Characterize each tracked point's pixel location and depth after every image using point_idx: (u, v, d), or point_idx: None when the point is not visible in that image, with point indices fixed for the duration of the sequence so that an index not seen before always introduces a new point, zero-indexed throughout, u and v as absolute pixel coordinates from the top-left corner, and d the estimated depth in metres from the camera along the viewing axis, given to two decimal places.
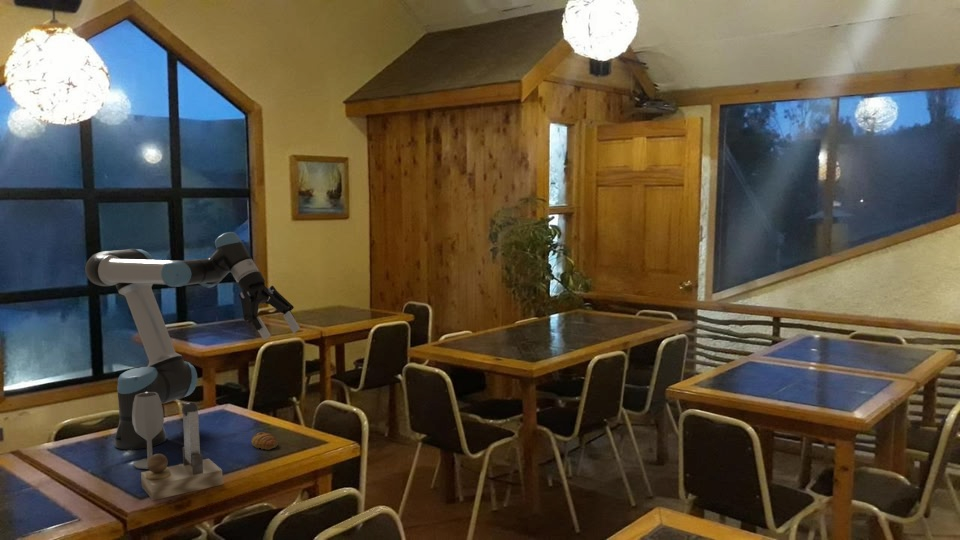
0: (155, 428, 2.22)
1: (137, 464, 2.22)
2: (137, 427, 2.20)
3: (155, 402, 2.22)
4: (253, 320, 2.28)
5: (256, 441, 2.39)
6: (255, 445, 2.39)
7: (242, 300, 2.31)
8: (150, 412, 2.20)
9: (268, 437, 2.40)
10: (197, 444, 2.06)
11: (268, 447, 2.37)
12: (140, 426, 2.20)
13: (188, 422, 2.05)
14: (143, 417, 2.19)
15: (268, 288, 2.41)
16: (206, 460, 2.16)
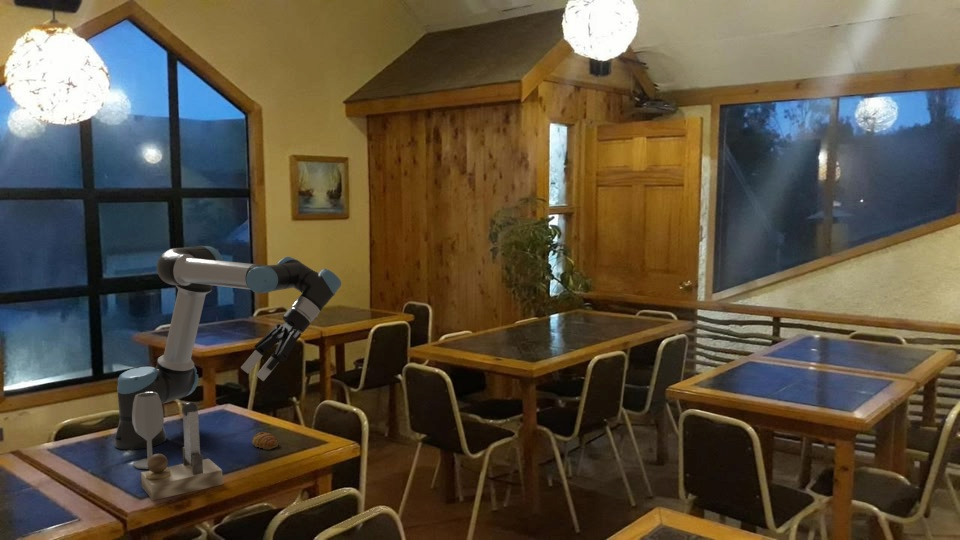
0: (155, 428, 2.22)
1: (137, 464, 2.22)
2: (137, 427, 2.20)
3: (155, 402, 2.22)
4: (277, 361, 2.13)
5: (257, 441, 2.39)
6: (256, 445, 2.39)
7: (292, 337, 2.16)
8: (150, 412, 2.20)
9: (269, 437, 2.40)
10: (197, 444, 2.06)
11: (269, 447, 2.37)
12: (140, 426, 2.20)
13: (188, 422, 2.05)
14: (143, 417, 2.19)
15: None
16: (206, 460, 2.16)
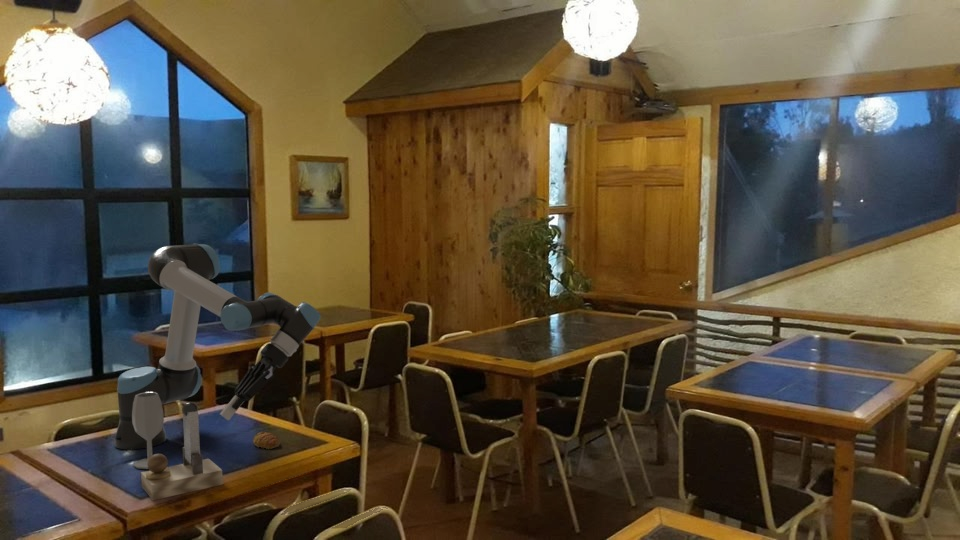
0: (155, 428, 2.22)
1: (137, 464, 2.22)
2: (137, 427, 2.20)
3: (155, 402, 2.21)
4: (242, 400, 2.13)
5: (258, 441, 2.39)
6: (257, 444, 2.39)
7: (262, 378, 2.13)
8: (150, 412, 2.20)
9: (270, 437, 2.40)
10: (197, 444, 2.06)
11: (270, 446, 2.37)
12: (140, 426, 2.20)
13: (188, 422, 2.05)
14: (143, 417, 2.19)
15: None
16: (206, 460, 2.16)
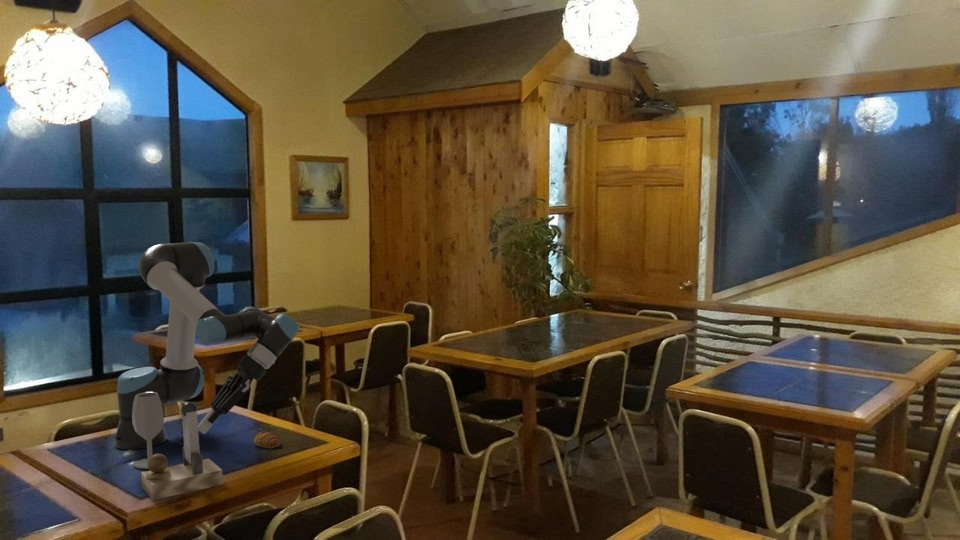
0: (155, 428, 2.22)
1: (137, 464, 2.22)
2: (137, 427, 2.20)
3: (155, 402, 2.22)
4: (218, 413, 2.10)
5: (258, 440, 2.40)
6: (258, 444, 2.40)
7: (239, 392, 2.10)
8: (150, 412, 2.20)
9: (271, 436, 2.41)
10: (197, 444, 2.06)
11: (271, 446, 2.38)
12: (140, 426, 2.20)
13: (187, 422, 2.05)
14: (143, 417, 2.19)
15: None
16: (206, 460, 2.16)
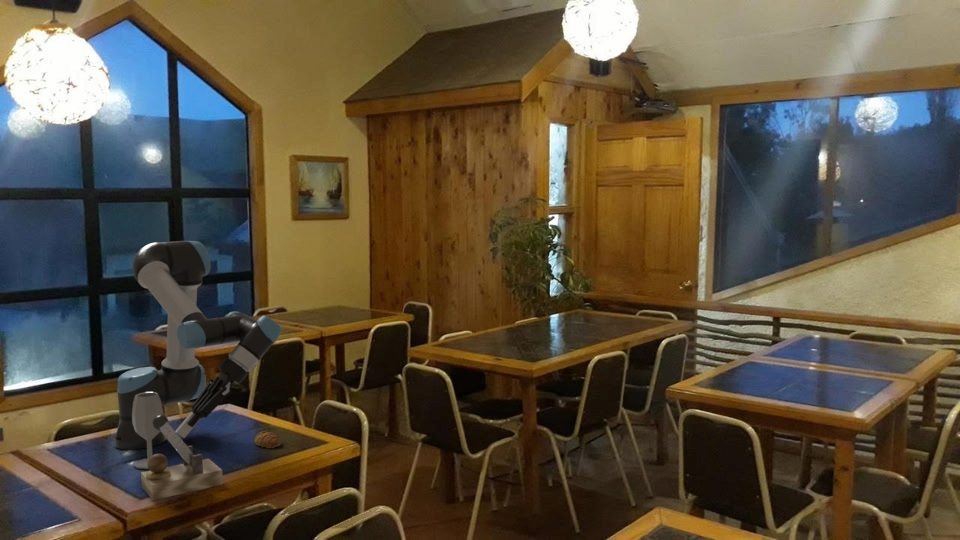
0: None
1: (137, 464, 2.22)
2: (137, 427, 2.20)
3: (155, 402, 2.22)
4: (198, 417, 2.07)
5: (259, 440, 2.40)
6: (259, 444, 2.40)
7: (219, 395, 2.07)
8: (150, 412, 2.20)
9: (271, 436, 2.41)
10: (186, 448, 2.05)
11: (272, 446, 2.38)
12: (140, 426, 2.20)
13: (165, 435, 2.02)
14: (143, 417, 2.19)
15: None
16: (206, 460, 2.16)
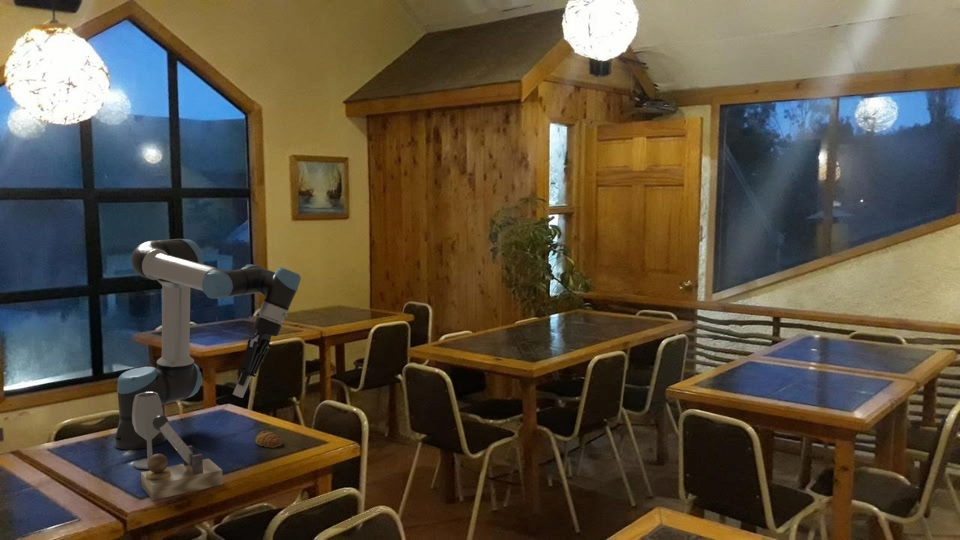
0: None
1: (137, 464, 2.22)
2: (137, 427, 2.20)
3: (155, 402, 2.22)
4: (244, 375, 2.20)
5: (260, 440, 2.40)
6: (260, 444, 2.40)
7: (248, 348, 2.18)
8: (150, 412, 2.20)
9: (273, 436, 2.41)
10: (186, 448, 2.05)
11: (274, 445, 2.38)
12: (140, 426, 2.20)
13: (165, 435, 2.02)
14: (143, 417, 2.19)
15: None
16: (206, 460, 2.16)
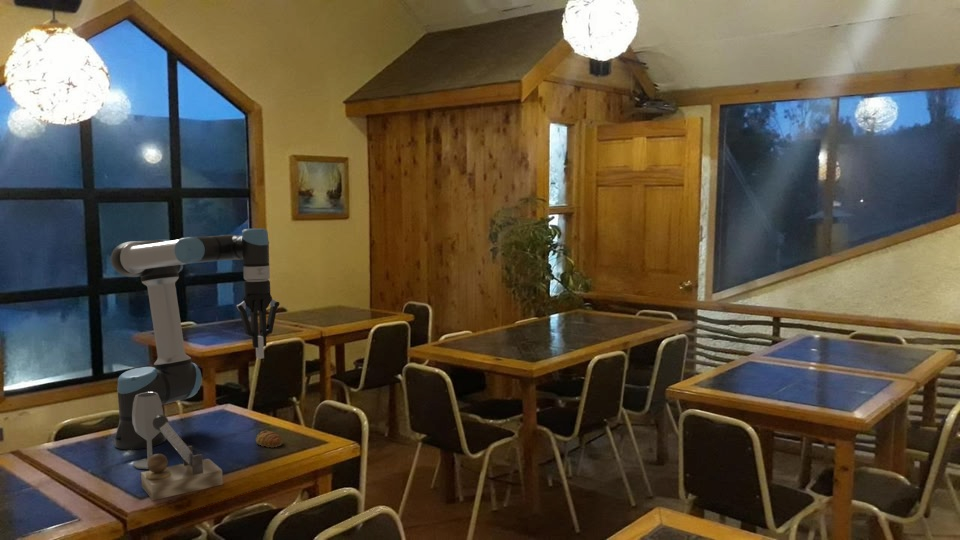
0: None
1: (137, 464, 2.22)
2: (137, 427, 2.20)
3: (155, 402, 2.22)
4: (253, 337, 2.30)
5: (261, 439, 2.41)
6: (260, 443, 2.40)
7: (240, 313, 2.28)
8: (150, 412, 2.20)
9: (273, 435, 2.42)
10: (186, 448, 2.05)
11: (274, 445, 2.39)
12: (140, 426, 2.20)
13: (165, 435, 2.02)
14: (143, 417, 2.19)
15: (274, 300, 2.33)
16: (206, 460, 2.16)
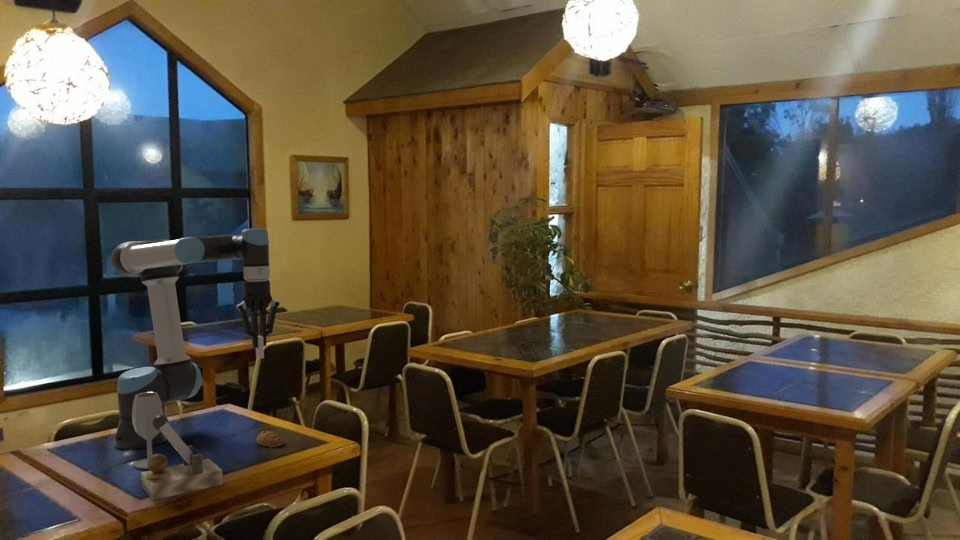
0: None
1: (137, 464, 2.22)
2: (137, 427, 2.20)
3: (155, 402, 2.22)
4: (253, 337, 2.30)
5: (262, 439, 2.41)
6: (261, 443, 2.41)
7: (240, 313, 2.28)
8: (150, 412, 2.20)
9: (274, 435, 2.42)
10: (186, 448, 2.05)
11: (275, 445, 2.39)
12: (140, 426, 2.20)
13: (165, 435, 2.02)
14: (143, 417, 2.19)
15: (273, 300, 2.33)
16: (206, 460, 2.16)
